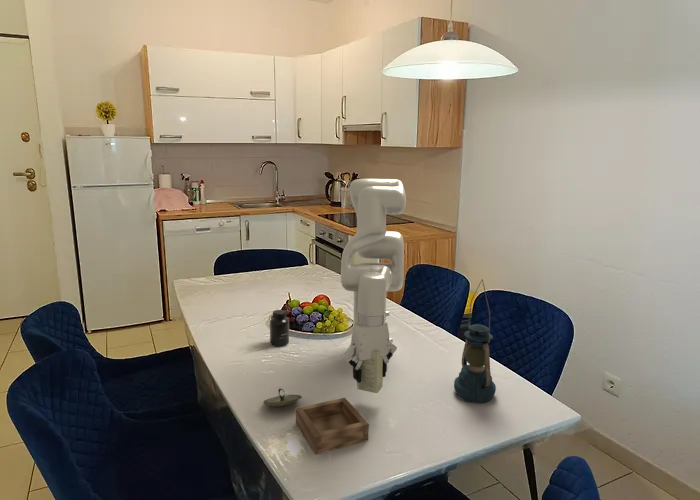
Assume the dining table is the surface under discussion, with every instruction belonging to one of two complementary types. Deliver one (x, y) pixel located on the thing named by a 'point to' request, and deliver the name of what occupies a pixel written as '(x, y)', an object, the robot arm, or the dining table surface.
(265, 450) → the dining table surface
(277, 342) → the supplement bottle
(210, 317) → the dining table surface
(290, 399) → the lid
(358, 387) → the skincare box
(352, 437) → the wooden tray
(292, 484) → the dining table surface
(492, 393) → the lantern
